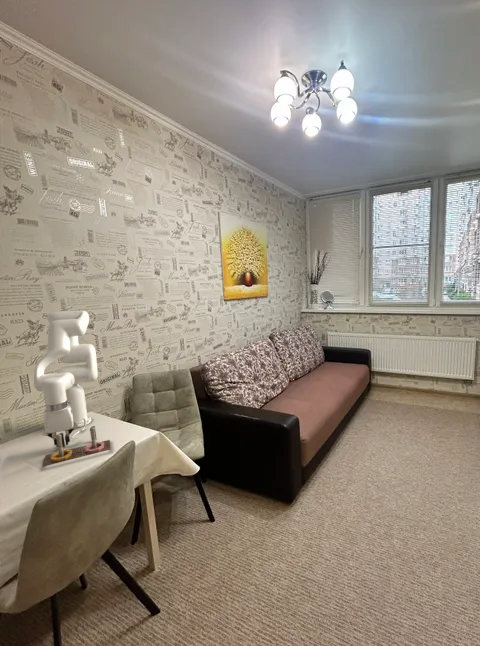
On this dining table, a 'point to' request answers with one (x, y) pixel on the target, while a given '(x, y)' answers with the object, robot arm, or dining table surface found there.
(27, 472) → the dining table surface
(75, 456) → the peg rack
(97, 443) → the pink ring
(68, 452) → the brass ring
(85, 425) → the hook
